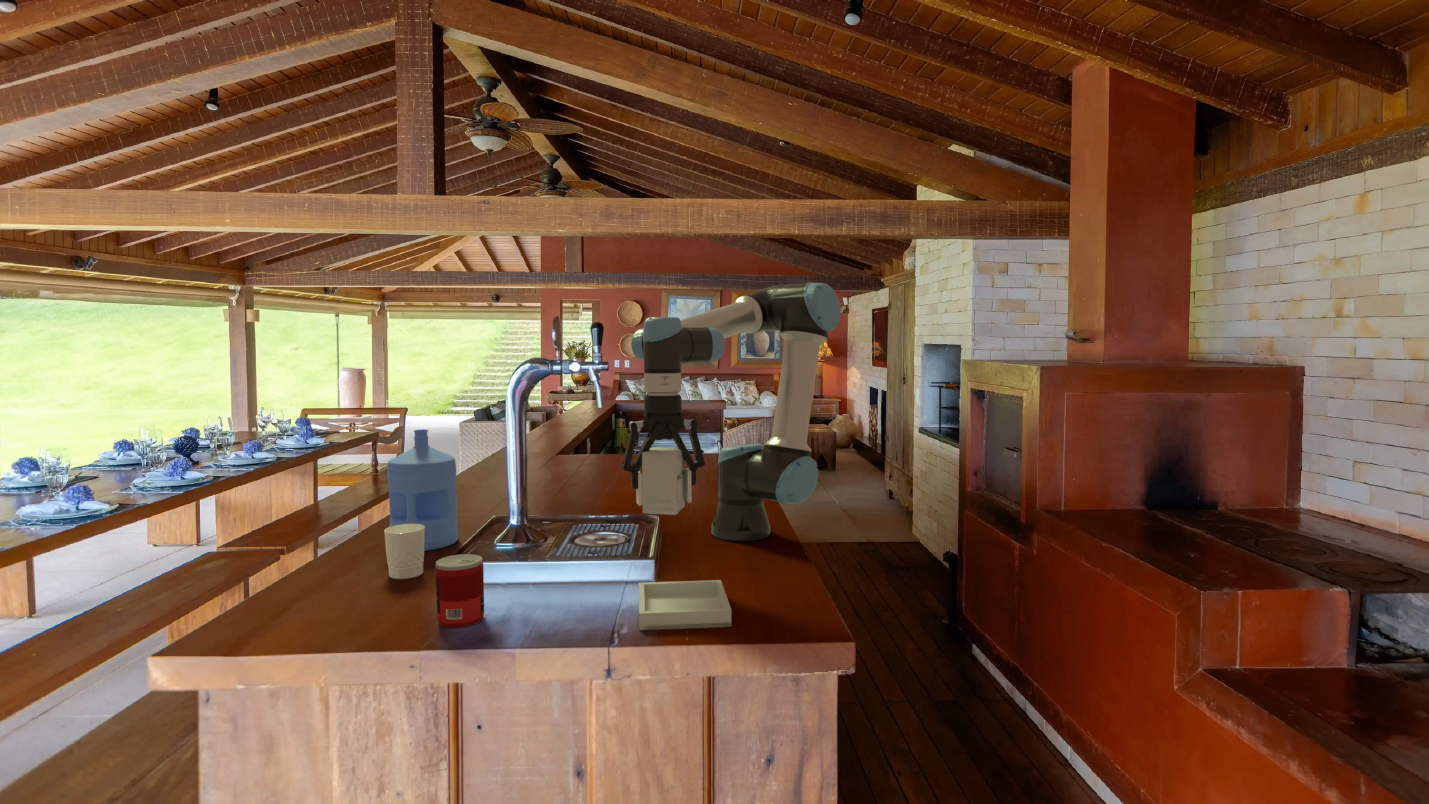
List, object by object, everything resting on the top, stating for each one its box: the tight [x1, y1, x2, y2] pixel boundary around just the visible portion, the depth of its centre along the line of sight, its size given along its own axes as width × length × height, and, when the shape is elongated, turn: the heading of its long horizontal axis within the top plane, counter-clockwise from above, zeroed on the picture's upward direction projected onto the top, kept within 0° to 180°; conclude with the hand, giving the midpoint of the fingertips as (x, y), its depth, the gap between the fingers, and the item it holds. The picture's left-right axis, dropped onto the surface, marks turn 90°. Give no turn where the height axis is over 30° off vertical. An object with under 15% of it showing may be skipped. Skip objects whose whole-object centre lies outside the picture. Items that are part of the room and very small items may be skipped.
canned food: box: [435, 553, 485, 629], centre depth 130 cm, size 8×8×11 cm
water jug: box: [386, 428, 459, 552], centre depth 178 cm, size 16×16×28 cm
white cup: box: [383, 524, 425, 580], centre depth 155 cm, size 8×8×10 cm
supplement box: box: [641, 446, 686, 516], centre depth 149 cm, size 7×7×13 cm
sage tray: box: [638, 579, 732, 631], centre depth 134 cm, size 16×16×3 cm
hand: (664, 502), depth 150 cm, fingers closed on supplement box, 9 cm apart
